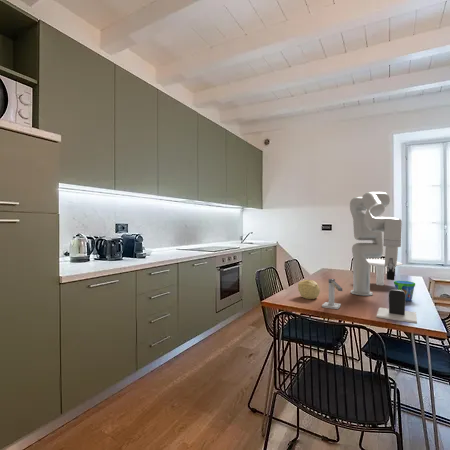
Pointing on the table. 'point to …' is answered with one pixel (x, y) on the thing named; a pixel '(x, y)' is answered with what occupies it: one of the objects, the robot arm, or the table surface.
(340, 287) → the bar
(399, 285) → the snack cup
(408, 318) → the tile pad
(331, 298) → the post
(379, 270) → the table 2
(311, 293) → the yellow round lump
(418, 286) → the table surface
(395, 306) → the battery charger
